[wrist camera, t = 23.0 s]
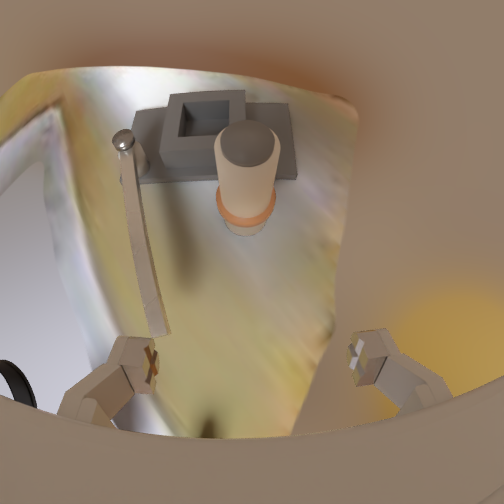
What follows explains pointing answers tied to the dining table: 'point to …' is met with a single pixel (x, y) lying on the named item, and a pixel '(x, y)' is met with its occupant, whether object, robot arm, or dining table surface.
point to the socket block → (202, 135)
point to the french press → (17, 383)
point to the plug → (246, 175)
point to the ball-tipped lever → (140, 236)
